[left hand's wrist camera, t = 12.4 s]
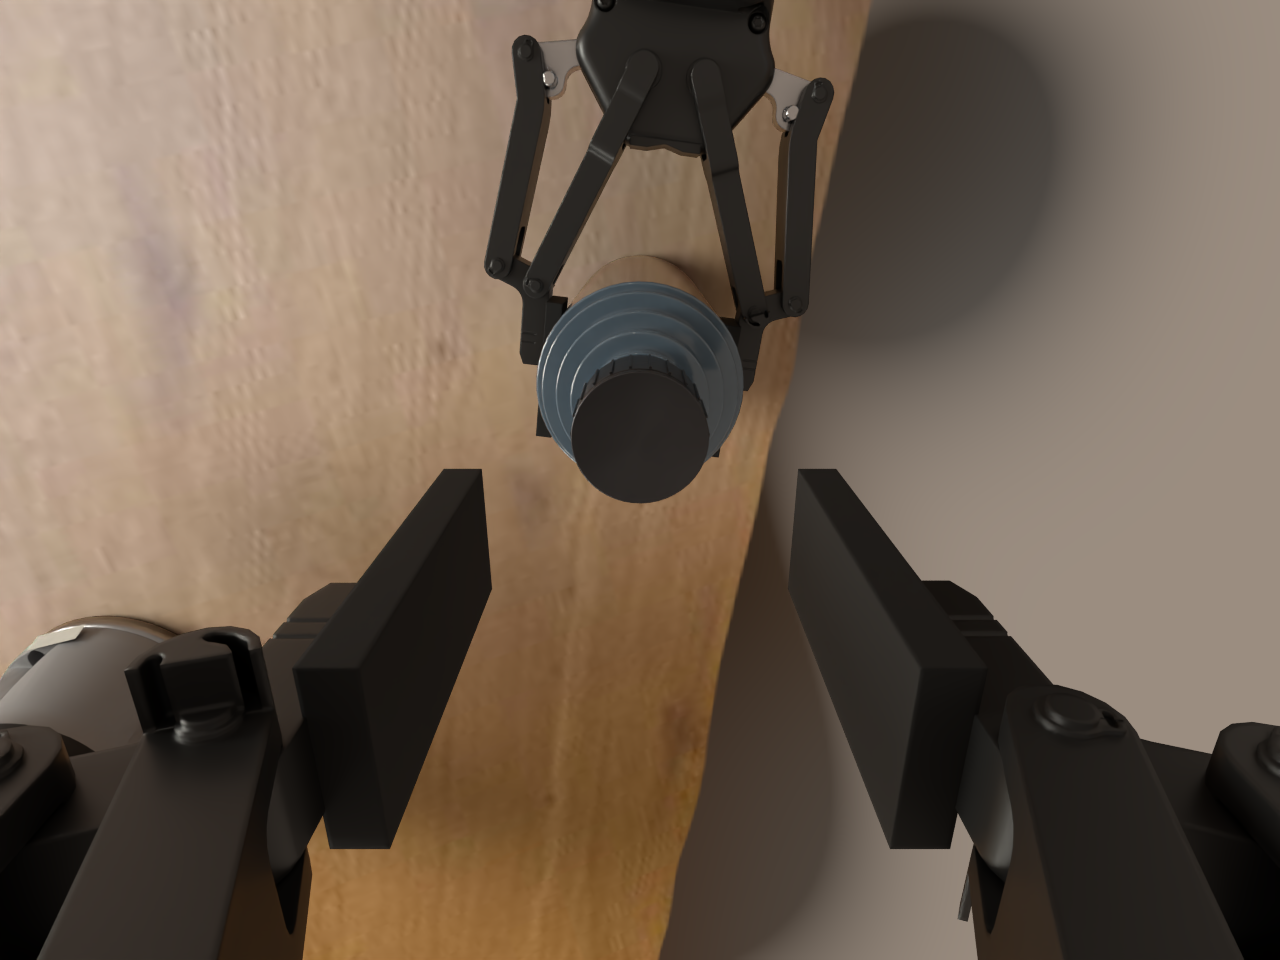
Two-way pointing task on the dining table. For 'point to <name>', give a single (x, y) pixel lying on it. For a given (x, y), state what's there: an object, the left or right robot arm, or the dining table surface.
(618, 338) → the bottle
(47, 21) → the dining table surface
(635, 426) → the cap
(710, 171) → the right robot arm
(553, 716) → the dining table surface
